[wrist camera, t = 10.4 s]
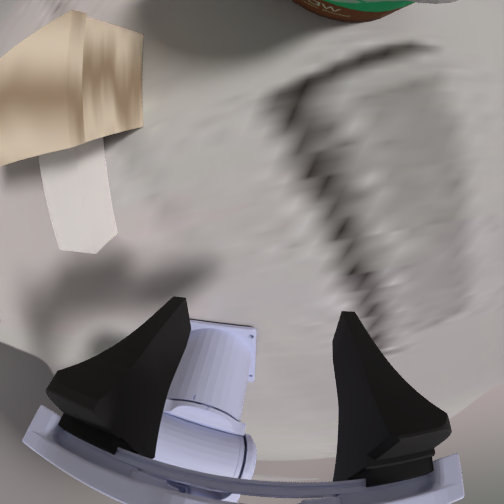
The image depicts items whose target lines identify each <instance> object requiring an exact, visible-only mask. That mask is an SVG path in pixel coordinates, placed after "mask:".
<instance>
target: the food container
mask: <svg viewBox="0 0 504 504" xmlns="http://www.w3.org/2000/svg"><path fill="white" fill-rule="evenodd" d="M292 1H293V2H295V3H296V4H298V5H300V6H302V7H303V8H305V9H306V10H308V11H310V12H313V13H315V14H317V15H320V16H323V17H326V18H329V19H333V20H338V21H345V22H368V21H373V20H377V19H380V18H382V17H385V16H387V15H389V14H391V13H393V12H395V11H397V10H399V9H401V8H403V7H406V6H408V5H410V4H412V3H415V2H418V3H433V4H439V3H450V2H454V1H457V0H292Z"/></svg>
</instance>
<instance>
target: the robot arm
mask: <svg viewBox="0 0 504 504" xmlns="http://www.w3.org/2000/svg"><path fill="white" fill-rule="evenodd" d="M251 335H253V336H251ZM256 337H257V330H256V329H255V328H253V327H245V326H236V325H227V324H219V323H211V322H203V321H196V320H190V319H189V313H188V308H187V302H186V298H183V297H175V296H174V297H173V298H171V299H170V300H169V301H168V302H167V303H166V304H165V305H164V306H163V307H162V308H160V309H159V310H158V311H157V312H156V313H155V314H154V315H153V316H152V317H150V318H149V319H148V320H147V321H146V322H145V323H144V324H142V325H141V326H140V327H139V328H138V329H136V330H135V331H134V332H133V333H131V334H130V335H129V336H127V337H126V338H125V339H123V340H122V341H120V342H119V343H117V344H116V345H114V346H113V347H111V348H109V349H107V350H106V351H104V352H102V353H100V354H98V355H97V356H95V357H93V358H90V359H88V360H86V361H84V362H81V363H79V364H76V365H74V366H71V367H68V368H65V369H62V370H59V371H57V373H56V374H55V376H54V377H53V379H52V381H51V382H50V384H49V386H48V387H47V389H46V393H47V395H48V397H49V398H50V399H51V400H52V401H53V402H54V403H55V405H57V407H59V409H60V410H61V411H63V413H64V414H63V416H62V417H61V416H59V415H58V414H56V413H55V412H53V411H51V410H50V409H48V408H46V407H45V406H43V405H41V406H40V407H39V409H38V411H37V413H36V415H35V417H34V418H33V420H32V422H31V424H30V426H29V428H28V430H27V432H26V434H25V436H24V438H23V440H22V441H23V443H25V444H26V445H27V446H29V447H30V448H31V449H32V450H34V451H35V452H36V453H38V454H39V455H41V456H42V457H43V458H45V459H46V460H48V461H49V462H51V463H52V464H53V465H55V466H56V467H58V468H59V469H61V470H62V471H64V472H65V473H67V474H69V475H70V476H72V477H73V478H75V479H77V480H79V481H80V482H82V483H84V484H85V485H88V486H89V487H91V488H93V489H95V490H97V491H99V492H100V493H103V494H104V495H107V496H108V497H111V498H113V499H115V500H117V501H119V502H121V503H124V504H243V503H237V501H238V499H239V497H240V495H249V496H260V497H275V498H319V499H309V500H303V501H301V503H299V504H451V503H453V502H455V501H457V500H460V499H462V498H463V497H464V487H463V479H462V472H461V466H460V460H459V455H458V453H455V454H452V455H449V456H447V457H444V458H440V459H437V460H435V461H432V456H434V455H435V450H434V448H435V447H436V446H437V445H439V444H440V443H441V442H443V441H444V440H445V439H447V438H448V436H450V434H451V426H450V422H449V418H448V415H447V413H445V412H444V411H442V410H441V409H439V408H438V407H436V406H435V405H433V404H432V403H431V402H429V401H428V400H427V399H425V398H424V397H423V396H422V395H420V394H419V393H418V392H417V391H416V390H415V389H414V388H413V387H411V386H410V385H409V384H408V383H407V382H406V381H405V380H404V379H403V378H402V377H401V376H400V375H399V374H398V372H397V371H396V370H395V369H394V368H393V367H392V366H391V364H390V363H389V362H388V361H387V359H386V358H385V357H384V355H383V354H382V353H381V351H380V350H379V349H378V347H377V346H376V344H375V343H374V341H373V340H372V338H371V337H370V335H369V334H368V332H367V331H366V329H365V328H364V326H363V324H362V323H361V321H360V320H359V318H358V316H357V315H356V313H355V312H347V311H342V312H341V316H340V319H339V322H338V326H337V329H336V332H335V335H334V338H333V364H334V372H335V379H336V386H337V394H338V405H339V425H338V444H337V455H336V464H335V471H334V477H333V482H313V483H312V482H311V483H296V482H293V483H292V482H271V481H258V480H251V478H252V476H253V473H254V470H255V465H256V458H257V450H256V445H255V443H254V442H253V439H252V437H251V436H250V435H248V434H244V433H245V427H246V424H245V423H241V422H240V421H241V415H242V409H243V403H244V398H245V392H246V386H247V382H253V381H254V379H255V360H256ZM323 497H328V498H323ZM320 498H321V499H320Z"/></svg>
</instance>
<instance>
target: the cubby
mask: <svg viewBox="0 0 504 504" xmlns="http://www.w3.org/2000/svg"><path fill="white" fill-rule="evenodd" d="M142 55H143V34H140V33H137V32H134V31H131V30H128V29H125V28H122V27H119V26H116V25H113V24H109V23H106V22H102V21H99V20H95V19H91V18H87V13H83V12H78V11H74V10H72V11H70V12H68V13H66V14H64V15H63V16H61V17H59V18H57V19H56V20H54V21H52V22H51V23H49V24H47V25H46V26H44V27H43V28H41V29H39V30H38V31H36V32H35V33H33V34H32V35H30V36H29V37H28V38H26V39H25V40H23V41H22V42H21V43H19V44H18V45H16V46H15V47H14V48H13V49H11V50H10V51H9V52H7V53H6V54H5V55H4V56H2V57H1V58H0V166H3V165H6V164H9V163H13V162H16V161H19V160H23V159H26V158H30V157H34V156H38V155H42V154H46V153H50V152H54V151H59V150H63V149H68V148H72V147H75V146H78V145H81V144H84V143H85V142H88V141H91V140H94V139H98V138H101V137H105V136H108V135H112V134H115V133H119V132H123V131H127V130H131V129H135V128H140V127H143V106H142Z"/></svg>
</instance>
